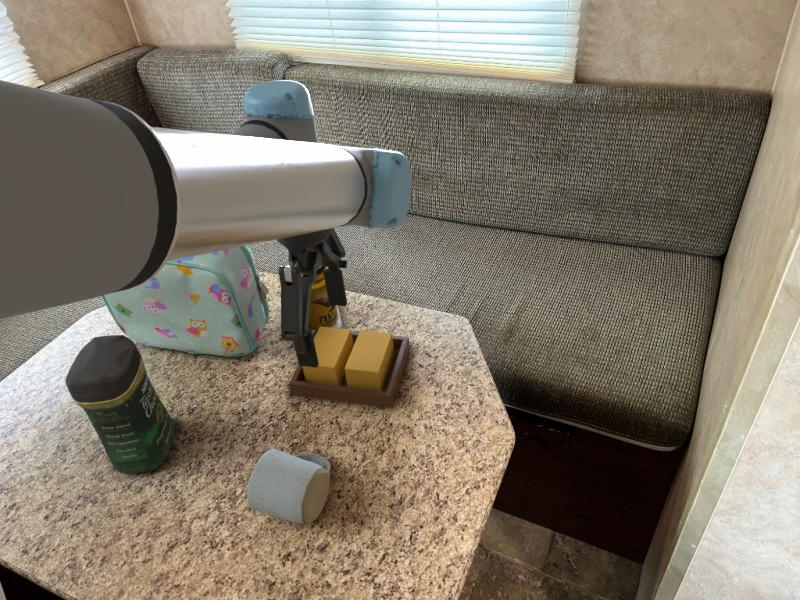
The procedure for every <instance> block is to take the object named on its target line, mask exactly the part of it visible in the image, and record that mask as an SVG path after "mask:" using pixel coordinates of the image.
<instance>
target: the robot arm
mask: <svg viewBox="0 0 800 600" xmlns="http://www.w3.org/2000/svg"><path fill="white" fill-rule="evenodd" d="M242 101H243V108H244V110H243V113H244V114H243V115H244V116H245V117H246V118H245V119H246V121H245V122H243V123H242V124H241V125H240V126H239V127H238V128H237V129H236V130H234V131H233V132H232V133H230V134H227V133H217V132H216V133H215V132H206V131H197V130H188V129H187V130H185V129H177V128H168V127H167V128H166V127H158V126H150V125H149V124H148V123H147V121H145V120H144V119H143V118H142V117H140V116H139V115H138V114H137V113H136V112H133V111H132V110H131V109H128V108H127V107H125V106H123V105H120V104H118V103H114V102H111V101H106V100H101V99H92V98H85V97H79V96H75V95H74V96H73V95H68V94H63V93H58V92H54V91H50V90H45V89H40V88H37V87H32V86H29V85H23V84H19V83H15V82H10V81H5V80H2V79H0V320H3V319H8V318H12V317H17V316H21V315H26V314H29V313H34V312H39V311H43V310H48V309H52V308H56V307H61V306H65V305H69V304H74V303H79V302H83V301H88V300H92V299H95V298H99V297H102V296H103V295H107V294H110V293H115V292H119V291H123V290H127V289H131V288H134V287H137V286H139V285H142V284H144V283H145V282H147V281H149V280H150V279H151V278H153V277H154V276H155V275H156V274H157V273H158V272H159V271H160V270H161V269H162V268H163V266H164V265H165V264H166V262H167V261H172V260H177V259H182V258H187V257H192V256H197V255H202V254H207V253H212V252H217V251H222V250H227V249H232V248H237V247H242V246H251V245H257V244H261V243H262V244H263V243H266V242H272V241H277V242H278V243H279V244H280V245H281V246H283V247H284V248H286V249H287V250H288V259H287V260H288V264H287V265H279V267H278V277H279V282H280V283H279V284H280V339H281V341H289V342H292V343H293V347H294V351H295V355H296V360H297V362H298V364H299V366H307V367H316V368H317V367H318V365H319V362H318V357H317V353H316V348H315V344H314V339H313V333H312V330H311V329H308V323H309V312H310V301H311V291H312V285H314V284H315V283H316V275H317V268H318V266H319V265H320V264H323V265H324V266H325V267H327V269H324V271H323V273H324V278H325V283H326V289H327V294H328V299H329V305H336V306H338V307H347V305H348V298H347V293H346V286H345V281H344V274H343V270H342V269H347V267H348V261H347V260H344V259H343V258H345V257H346V253H347V252H346V249H345V247H344V246H343V244H342V241H341V239H340V237H339V236H338V234H337V232H336V228H341V227H342V228H343V227H348V226H358V227H366V228H368V229H371V230H373V229H374V228H377V229H395V228H397V227H399V226H400V225H401V224H402V223H403V221H404V220H405V219H406V216H407V214H408V211H409V208H410V204H411V199H412V193H413V191H412V190H413V173H412V169H411V165H410V163H409V160H408V158H407V157H406V156H405V155H404V154H403V153H402V152H400V151H396V150H386V149H381V148H379V147H374V148H369V147H356V146H346V145H345V146H344V145H336V144H335V145H333V144H325V143H319V140H318V134H317V127H316V120H315V119H316V115H315V113H314V108H313V105H312V101H311V96H310V93H309V90H308V88H307V87H306V86H305V85H304V84H303V83H300V82H298V81H295V80H291V79H290V80H289V79H275V80H274V79H273V80H269V81H264V82H261V83H258V84H254V85H253V86H251V87H249V88H248V89H246V90H245V92H244V94H243V99H242ZM303 275H310V276H309V278H302V277H303ZM0 600H7V598H6V595H5V592H4V589H3V586H2V583H1V582H0Z"/></svg>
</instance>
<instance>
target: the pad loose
mask: <svg viewBox="0 0 800 600" xmlns="http://www.w3.org/2000/svg"><path fill="white" fill-rule="evenodd" d="M351 331H352V329H348V328H329V327H319V330H318V332H317V334H316V336H315V338H314V344H315V348H316V353H317V357H318V362H319V365H318V367H317V368H316V367H307V366H302V367H303V371H304V375H305V378H306V382H310V383H318V384H326V385H335V386H340V384H341V381H342V379H343V376H344V374H345V366H346V364H347V361H348V359H349V356H350V354H351V352H352V349H353V347H354V345H353V339H352V333H351Z"/></svg>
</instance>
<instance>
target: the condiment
mask: <svg viewBox="0 0 800 600" xmlns="http://www.w3.org/2000/svg"><path fill="white" fill-rule="evenodd" d="M324 269H328V267H325V266H324V265H323V264H320V265H319V266H318V268H317V275H316V283H315V284H314V285H312V291H311V301H310V312H309V323H308V329H311V330H312V334H314V332H315V330H316V328H319V327H329V328H339V329H342V328H343V321H342V318H341V314H340V309H339V306H336V305H329V299H328V294H327V289H326V283H325V278H324V273H323V271H324ZM309 276H310V275H303V277H302V278H309Z"/></svg>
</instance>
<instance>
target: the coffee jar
mask: <svg viewBox="0 0 800 600" xmlns="http://www.w3.org/2000/svg"><path fill="white" fill-rule="evenodd" d="M64 382H65V385H66V387H67V390H68V392H69V394H70V397H71V399H72V401H74V403H75V404H76V405H77V406H79V407H80V408H81V409H82V410H83V411H84V413H85V414H86V415H87V417H88V419H89V421H90V423H91V425H92V427H93V428H94V431H95V432H96V435H97V436H98V438H99V440H100V442H101V445H102V447H103V450H104V451H105V454H106V455H107V457H108V459H109V462H110V463H111V465H112V467H113V468H114V470H115V471H117V472H118V473H122V474H124V475H125V474H127V475H136V474H144V473H146V472H151V471H153V470H155V469H157V468H158V467H160V466H161V465H163V463H164V462H165V461H166V459H167V457H168V454H169V452H170V451H171V447H172V444H173V442H174V436H175V432H176V431H175V430H176V426H175V422H174V421H173V419H172V417H171V415H170V413H169V411H168V410H167V408H166V406H165V405H164V403H163V402H162V400H161V399H160V396H159V394H158V393H157V391H156V389H155V388H154V386H153V384H152V382H151V380H150V378H149V376H148V373H147V369H146V365H145V363H144V359H143V356H142V354H141V353H140V350H139V349H138V347H137V344H136V343H135V342H134V340H133V339H131V338H130V337H128V336H125V334H112V335H111V334H110V335H102V336H101V335H100V336H94V337H92V338H91V340H89V342H88V343H86V344H85V345H84V346H83V347H82V348H81V349H80V350H79V352H78V354H77V355H76V357H75V358H74V360H73V362H72V364H71V366H70V368H69V370H68V372H67V374H66V378H65V381H64Z"/></svg>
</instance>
